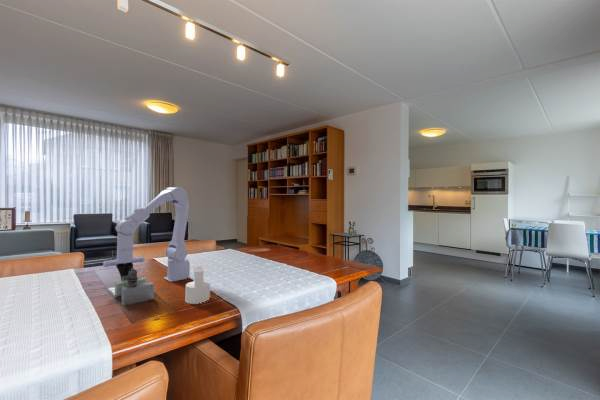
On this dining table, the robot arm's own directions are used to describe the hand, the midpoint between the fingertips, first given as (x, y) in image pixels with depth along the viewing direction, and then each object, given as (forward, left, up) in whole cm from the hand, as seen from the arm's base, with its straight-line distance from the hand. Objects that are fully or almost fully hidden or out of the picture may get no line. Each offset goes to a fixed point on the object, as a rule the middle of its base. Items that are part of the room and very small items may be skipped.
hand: (124, 281), depth 115 cm
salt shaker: (+1, +13, -4) cm, 14 cm away
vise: (0, +8, -3) cm, 9 cm away
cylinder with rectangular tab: (-17, +31, -4) cm, 35 cm away
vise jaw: (0, +7, -2) cm, 8 cm away
